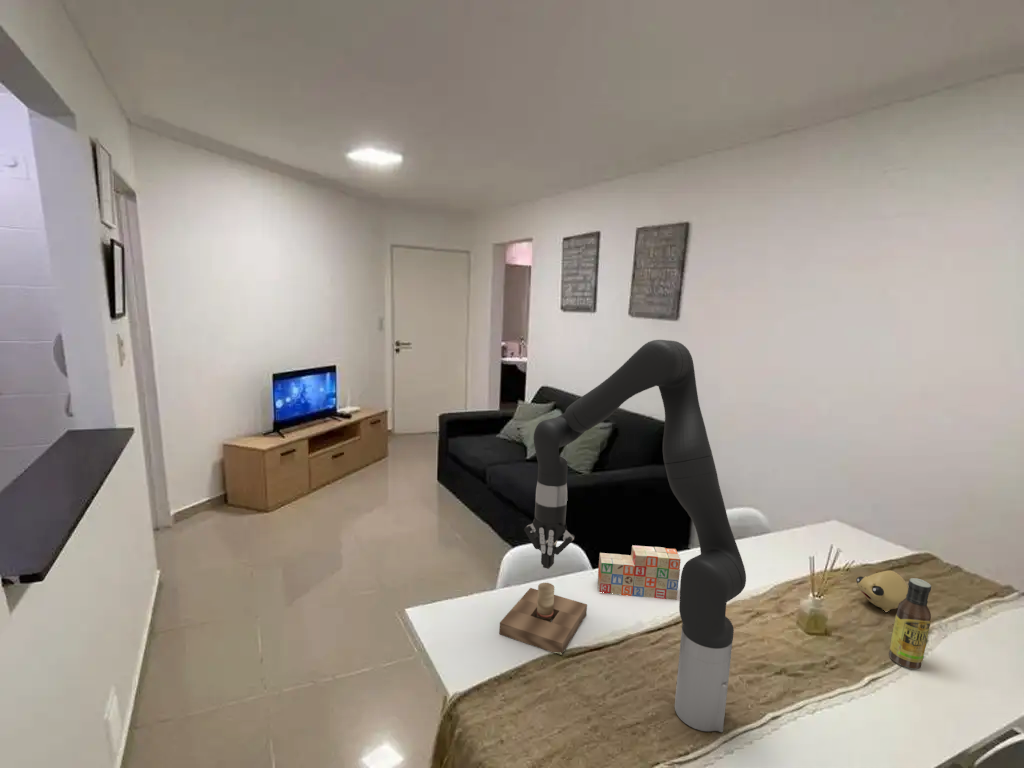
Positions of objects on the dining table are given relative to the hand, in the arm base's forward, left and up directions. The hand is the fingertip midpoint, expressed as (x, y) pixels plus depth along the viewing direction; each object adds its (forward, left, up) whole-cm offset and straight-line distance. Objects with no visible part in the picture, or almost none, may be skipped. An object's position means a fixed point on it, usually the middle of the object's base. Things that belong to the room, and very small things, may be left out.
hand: (547, 566), depth 127 cm
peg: (0, 0, -15) cm, 15 cm away
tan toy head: (-78, -53, -16) cm, 96 cm away
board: (0, 0, -15) cm, 15 cm away
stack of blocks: (-17, -27, -16) cm, 36 cm away
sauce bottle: (-79, -28, -16) cm, 85 cm away
